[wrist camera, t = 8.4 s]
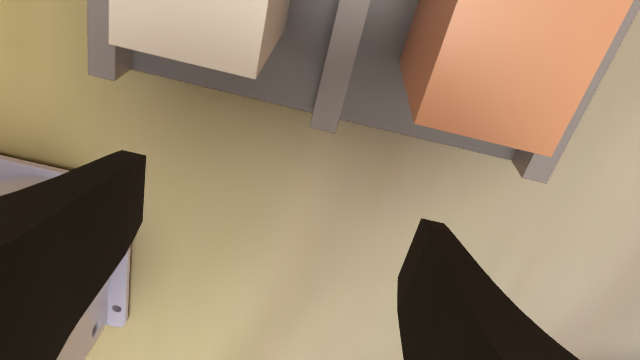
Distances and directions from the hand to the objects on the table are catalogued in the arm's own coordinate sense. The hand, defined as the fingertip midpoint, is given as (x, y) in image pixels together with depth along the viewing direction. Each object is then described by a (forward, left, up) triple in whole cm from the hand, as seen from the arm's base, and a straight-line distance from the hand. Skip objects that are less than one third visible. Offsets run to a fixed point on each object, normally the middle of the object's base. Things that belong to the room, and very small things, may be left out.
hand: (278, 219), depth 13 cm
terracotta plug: (+6, -5, -8) cm, 11 cm away
